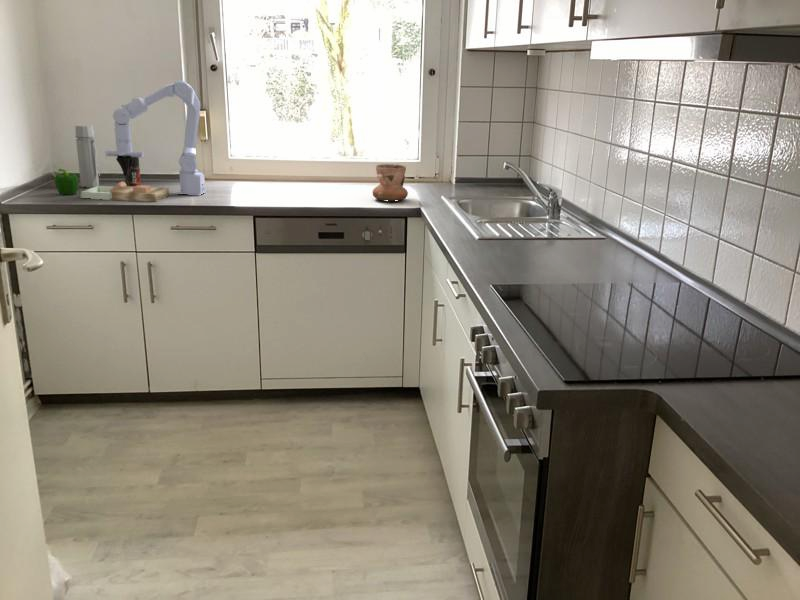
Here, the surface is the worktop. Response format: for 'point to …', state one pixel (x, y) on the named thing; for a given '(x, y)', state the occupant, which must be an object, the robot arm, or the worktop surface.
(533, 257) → the worktop surface
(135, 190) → the tile
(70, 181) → the bell pepper
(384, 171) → the brown clay vase
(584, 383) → the worktop surface
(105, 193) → the tray
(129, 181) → the deodorant
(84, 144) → the water bottle
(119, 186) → the tile
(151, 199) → the board
